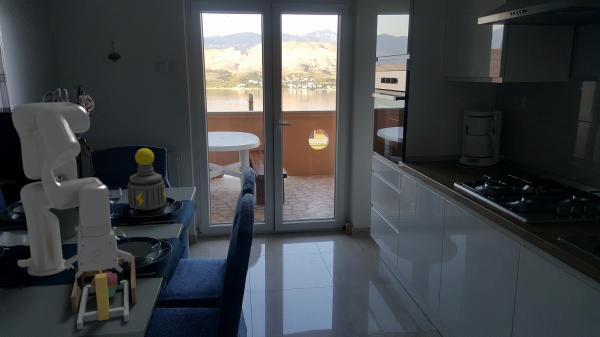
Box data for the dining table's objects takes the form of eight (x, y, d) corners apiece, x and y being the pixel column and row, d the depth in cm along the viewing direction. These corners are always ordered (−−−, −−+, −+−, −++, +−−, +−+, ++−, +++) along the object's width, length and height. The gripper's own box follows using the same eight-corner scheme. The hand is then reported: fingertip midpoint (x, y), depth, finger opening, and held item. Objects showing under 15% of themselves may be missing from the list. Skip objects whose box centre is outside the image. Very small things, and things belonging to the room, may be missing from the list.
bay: (72, 312, 133) (70, 297, 132) (80, 276, 156) (79, 262, 155) (136, 302, 139) (135, 287, 138) (135, 269, 162) (134, 255, 161)
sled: (77, 329, 124) (73, 285, 122) (84, 291, 145) (80, 253, 142) (128, 321, 129) (125, 278, 126) (128, 285, 149) (125, 248, 147)
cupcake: (103, 304, 138) (100, 267, 135) (86, 297, 142) (82, 261, 139) (127, 292, 145) (124, 257, 142) (109, 286, 149) (106, 252, 146)
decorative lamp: (160, 211, 226) (156, 152, 220) (122, 210, 226) (117, 151, 220) (171, 200, 244) (168, 145, 238) (136, 199, 245) (132, 144, 238)
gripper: (59, 237, 118) (65, 296, 122) (130, 230, 124) (133, 287, 128) (62, 227, 125) (68, 284, 129) (129, 221, 131) (133, 275, 135)
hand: (100, 285), depth 128 cm, fingers open, 9 cm apart
